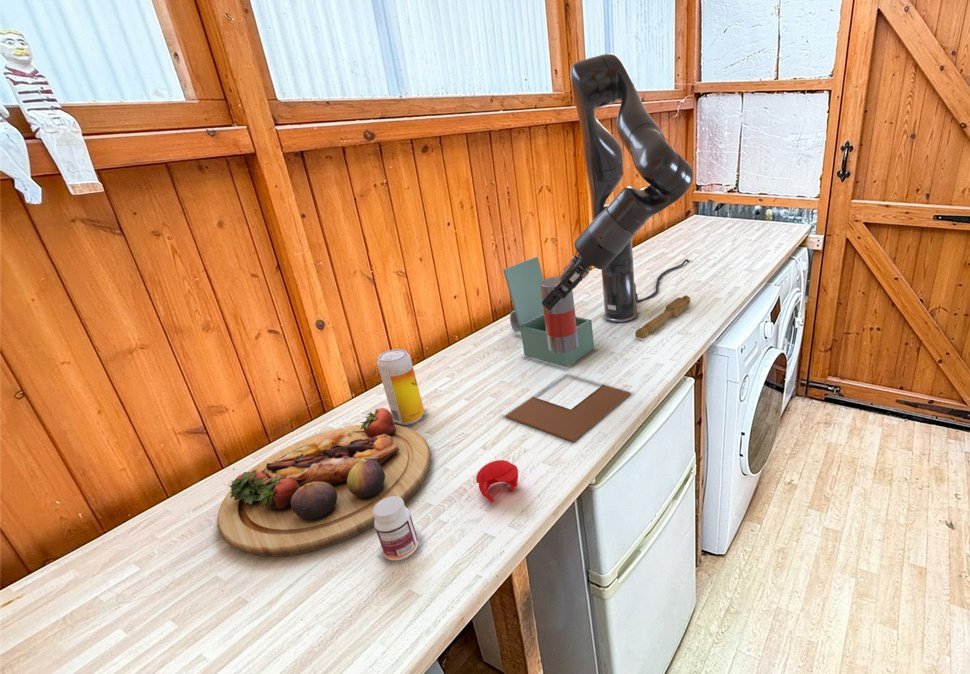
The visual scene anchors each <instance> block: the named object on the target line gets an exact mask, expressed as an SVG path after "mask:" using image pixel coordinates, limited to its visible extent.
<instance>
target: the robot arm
mask: <svg viewBox="0 0 970 674" xmlns="http://www.w3.org/2000/svg"><path fill="white" fill-rule="evenodd" d="M570 83H571V85H570V86H571V89H572V95H573V99H574V103H575V109H576V113H577V116H578V122H579V128H580V134H581V140H582V148H583V149H582V150H583V159H584V165H585V172H586V178H587V183H588V188H589V195H590V207H591V220H592V221H591V223H589V225H588V226H587V227H585V229H584V230H583V231H582V232H581V234H580V235H579V236H578V237H577V238H576V239H575V240H574V245H573V246H574V248H575V251H576V252H577V254H574V255H573V256H572V258H570V260H569V262H568V263H567V264H566V265H565V266H564V268H563V272H561V273H560V276H558V277H559V279H560V281H559V282H558V283H557V285H556V286H554V287H553V290H552V291H551V292H550V293H549V294H548V295H547V296H546V298H545V299H544V300H543V301H542V305H543V306H545V307H546V308H547V309H549V310H551V309H552V308H553V307H554V306H555V305H556V303H557V302H558V301H559V300H560V299H561V298H562V299H564V298H566V296H567V295H568V294H569V293H570V292H571V290H572V291H573V290H574V289H576V287H578V285H579V284H580V282H582V281H583V279H585V278H586V277H587V276H588V275H589V274H590V271H591V269H592V267H594V268H595V269H597V270H601V282H602V293H603V294H602V295H603V307H604V319H605V320H606V321H608V322H612V323H625V322H630V321H632V320H634V319H635V318H636V317H637V313H638V305H637V304H638V303H640V302H643V301H644V302H645V301H647V300H649V299H651V298H653V297H654V296H655V295H657V293H658V292H659V282H660V279H661V278H662V277H663V276H664V275H665V274H667V273H669V272H671V271H674V270H676V269H679V268H681V267H682V266H684V264H685V263H686V262H688V263H689V262H690V260H689V259H687V258H686V259H684V260H683V261H682V262H681V264H679V265H676V266H673V267H671V268H668V269H666V270H665V271H663V272H662V273H661V274H659V276H658V277H657V278H656V279H657V280H656V284H655V291H654V292H653V293H652V294H649V296H646V297H644V298H641V299H639V294H638V293H637V285H636V283H635V274H634V273H635V271H634V255H633V254H634V253H633V237H634V236H635V235H636V234H637V233H638V232H639V231H640V230H641V228H642V227H643V226H644V225H645V224H646V223H647V222H648V220H650V219H651V218H652V217H654V216H655V215H657V214H659V213H660V212H662V211H664V210H665V209H667V208H668V207H670V206H671V205H672V204H674V203H675V202H677V201H679V200H680V199H681V198H682V197H684V195H685V194H686V193H687V192H688V191H689V190H690V188H691V185H692V184H693V180H694V169H693V167H692V165H691V164H690V163H689V162H688V161H687V160H686V159H685V158H684V157H683V156H681V154H679V153H678V152H677V150H675V149H674V148H673V147H672V146H671V145H670V144H669V143H668V142H667V140H666V136H665V135H664V133H663V131H662V130H661V128H660V126H658V124H657V122H656V121H655V120H654V119H653V118H652V116H651V115H650V113H649V112H648V111H647V109H646V108H645V105H644V103H643V101H642V99H641V97H640V95H639V92H638V91H637V88H636V86H635V85H634V82H633V80H632V78H631V76H630V74H629V72H628V70H627V68H626V67H625V64H624V63H623V61H622V60H621V59H620V58H619V57H618V56H617V55H616V54H614V53H605V54H600V55H597V56H593V57H589V58H586V59H581V60H578V61H577V62H574V63H573V64H572V65H571V68H570ZM617 102H620V107H619V110H618V113H617V117H616V130H617V134H618V137H619V139H620V141H621V142H622V144H623V146H624V147H625V149H626V150H627V152H628V153H629V154H630V155H631V159H632V162H633V166H634V168H635V169H636V171H637V173H638V174H639V176H640V177H641V178H642V179H643V180H644V181H645V182H646V183H647V184H648V185H647V186H645V187H643V188H637V187H633V186H626V187H624V188H623V189H622V190H621V191H620V192H618V194H617V195H616V196H615V197H614V199H613V200H611V202H610V203H609V204H606V202H607V200H608V199H609V198H610V196H611V195H612V194H613V192H614V191H615V190H616V188H617V187H618V185H619V184H620V183H621V181H622V179H623V176H624V172H625V171H624V170H625V169H624V168H625V167H624V155H623V154H624V153H623V147H622V146H621V144H620V142H619V141H618V140H617V138H615V136H614V135H613V134H611V132H609V130H608V129H606V128H605V127H604V126H603V125H602V124H601V123H600V121H599V120H598V119H597V117H596V115H595V112H596V109H599V108H602V107H605V106H609V105H613V104H615V103H617ZM561 285H564V286H565V287H566V288H567V289H566V290H565V291H564V290H563V289H561V288H560V286H561Z"/></svg>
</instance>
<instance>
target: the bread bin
mask: <svg viewBox="0 0 970 674" xmlns="http://www.w3.org/2000/svg"><path fill="white" fill-rule="evenodd" d="M576 325H577V337H578V347H577V348H576V349H575V350H573V351H571V352H567V353H554V352H551V351H550V350H549V347H548V339H547V333H546V326H545V319H544V315H542V316H540V317H538V318H536V319H534V320H532V321H530V322H528V323H526V324H524V325H522V326H520V329H521V331H520V336H521V341H522V348H523V355H524V356H525V357H528V358H531V359H535V360H540V361H542V362H546V363H550V364H553V365H556V366H560V367H564V368H566V367H568V366H570V365H571V364H572V363H574V362H576V361H577V360H579V359H580V358H581V357H583V356H585V355H586V354H588V353H589V352H591V351H592V350H595V345H594V344H595V343H594V334H593V333H594V331H593V322H592V319H589V318H584V317H580V316H576Z"/></svg>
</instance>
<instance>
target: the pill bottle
mask: <svg viewBox="0 0 970 674" xmlns="http://www.w3.org/2000/svg"><path fill="white" fill-rule="evenodd" d="M405 504H406V503H404V502H403V499H402V498H401V497H398V496H391V497H387V498H385V499H383V500H381V501H379V502H378V503H377V504H376V505H375V506H374V508H373V514H374V518H375V521H374V526H373V527H374V529H375V533H376V535H377V538H378V540H379V543H380V547H381V548H382V549H381V550H382V551H383V552H382V553H383V554H384V557H385V558H386V559H387V560H389V561H401V560H404V559H407V558H408V557H410V556H412V555H413V554H414V553H415V552H416V550H417V549H418V547H419V538H418V535H417V532H416V531H417V530H416V528H415V525H414V521H413V518H412V515H411V512H410V510H409V509H408V507H406V505H405Z"/></svg>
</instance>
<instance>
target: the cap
mask: <svg viewBox="0 0 970 674" xmlns="http://www.w3.org/2000/svg"><path fill="white" fill-rule="evenodd" d="M518 480H519V470H518V467H517V465H515V464H514V463H512V462H510V461H508V460H503V459H497V460H494V461H490V462H489V463H486V464H485V465H483V466H482V467H481V468H480V469H479V470H478V471H477V473H476V476H475V481H476V483H477V484H478V489H479V491H480V494H481V495H482V496H483V497H485V498H486V499H487V500H488V501H489V502H490V503H492V504H493V503H494V502H495V499H494V497H492V495H491V494H490V493H488V490H489V488H490V487H491V486H492V485H494V484H497V483H505V484H508V485H510V486H509V489H510V491H515V489H516V487H518V482H519V481H518Z"/></svg>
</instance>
